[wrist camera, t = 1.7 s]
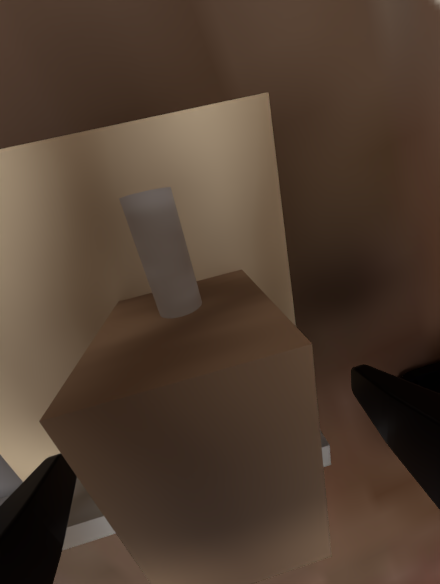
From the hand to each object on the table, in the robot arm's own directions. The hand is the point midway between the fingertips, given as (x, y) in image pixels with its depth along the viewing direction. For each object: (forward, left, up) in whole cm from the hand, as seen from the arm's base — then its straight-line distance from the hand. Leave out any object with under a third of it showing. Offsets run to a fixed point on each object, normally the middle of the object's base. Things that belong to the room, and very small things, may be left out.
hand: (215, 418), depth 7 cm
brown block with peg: (0, -2, -3) cm, 3 cm away
